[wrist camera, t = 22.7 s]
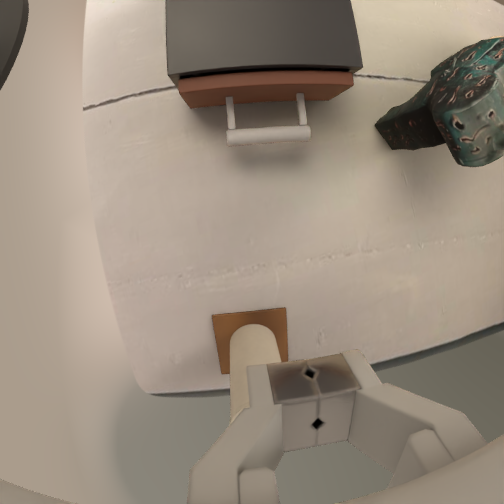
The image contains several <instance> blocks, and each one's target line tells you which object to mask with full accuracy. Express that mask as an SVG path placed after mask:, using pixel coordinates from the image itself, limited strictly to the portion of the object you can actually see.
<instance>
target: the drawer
mask: <svg viewBox="0 0 504 504" xmlns="http://www.w3.org/2000/svg"><path fill="white" fill-rule="evenodd" d="M327 69H329V68H311V67H284V68H256V69H240V70H228V71H217V72H208V73H200V74H192V76H193V77H192V78H185V79H179V80H178V86H179V94H180V95H181V96H182V98H183V99H184V101H185V102H186V103H187V105H188V106H189V107H190V109H193V108H201V107H209V106H218V105H226V108H227V120H228V130H227V131H226V136H227V146H228V147H230V146H240V145H252V144H266V143H281V142H302V141H310V140H311V129H310V126H308V125H307V119H306V109H305V100H330V99H332V98H334V97H335V96H337V95H339V94H340V93H342V92H344V91H345V90H347V89H349V88H350V87H352V86H354V83H353V75H352V72H342V71H326V70H327ZM270 101H297V110H298V120H299V126H278V127H261V128H247V129H236V127H235V116H234V105H233V104H240V103H253V102H270ZM235 129H236V130H235Z"/></svg>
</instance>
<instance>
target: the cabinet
mask: <svg viewBox="0 0 504 504" xmlns="http://www.w3.org/2000/svg"><path fill="white" fill-rule="evenodd" d="M166 47H167V70H168V76H169V77H170V79H171V80H172V81H173V83H174V84H175V85H176V87H177V88H178V90H179V86H178V80H179V79H185V78H192V77H193V76H192V74H200V73H208V72H217V71H228V70H240V69H256V68H284V67H311V68H329V69H327V70H326V71H342V72H352V74H354V73H355V72H357V71H358V70H360V69H361V68H363V64H362V58H361V51H360V46H359V40H358V35H357V29H356V24H355V19H354V15H353V10H352V6H351V1H350V0H166Z"/></svg>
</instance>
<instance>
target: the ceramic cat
mask: <svg viewBox="0 0 504 504" xmlns="http://www.w3.org/2000/svg"><path fill="white" fill-rule="evenodd" d="M375 126H376V128H377V129H378V131H379V132H380V134H381V135H382V136H383V138H384V139H385V140H386V142H387V143H388V144H389V146H390V147H391V149H392V150H397V149H407V150H416V149H420V148H427V147H434V146H437V145H441V144H444V143H446V144H447V146H448V148H449V150H450V152H451V154H452V156H453V157H454V159H455V161H456V162H457V163H458V164H459V165H461V166H468V167H479V166H484V165H486V164H489V163H491V162H493V161H495V160H497V159H499V158H500V157H502V156H503V155H504V37H498V38H492V39H488V40H481V41H480V42H478V43H476V44H473V45H470V46H467V47H465V48H463V49H462V50H460V51H459V52H457V53H456V54H454V55H453V56H451V57H449V58H448V59H446V60H444V61H443V62H441V63H440V64H439V65H438V66H437V67H435V68H434V69H433V70H432V71H431V79H430V81H429V82H428V83H427V84H426V85H425V86H424V87H423V88H422V89H421V90H420V91H419V92H418V93H417V94H416V95H415V96H414V97H412V98H411V99H410V100H409V101H407V102H406V103H404V104H402V105H400V106H397V107H393V108H391V109H390V110H389V111H388V113H387V114H386V115H384V116H383V117H382V118H380V119H379V120H378V121H377V123H376V124H375Z"/></svg>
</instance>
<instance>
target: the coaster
mask: <svg viewBox="0 0 504 504" xmlns="http://www.w3.org/2000/svg"><path fill="white" fill-rule="evenodd" d="M212 319H213V326H214V332H215V338H216V344H217V350H218V356H219V362H220V367H221V373H222V374H230V340H231V337H232V335H233V334H234V332H235V331H236V330H238V329H239V328H241V327H242V326H245V325H249V324H259V325H263V326H265V327H267V328H268V329H270V330H271V331H272V332H273V334H274V336H275V338H276V342H277V346H278V350H279V354H280V358H281V362H287V361H288V343H287V320H286V308H285V307H284V308H276V309H267V310H258V311H248V312H238V313H228V314H217V315H212Z"/></svg>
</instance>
